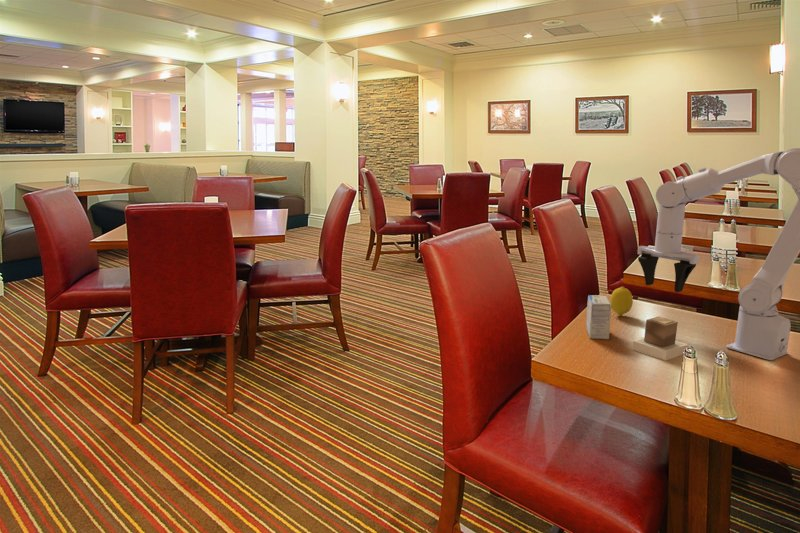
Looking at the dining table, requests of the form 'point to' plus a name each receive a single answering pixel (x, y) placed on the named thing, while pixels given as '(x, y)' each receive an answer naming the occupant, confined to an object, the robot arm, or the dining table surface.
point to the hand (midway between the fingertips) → (663, 287)
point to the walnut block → (660, 331)
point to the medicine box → (598, 317)
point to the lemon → (621, 301)
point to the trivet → (659, 349)
